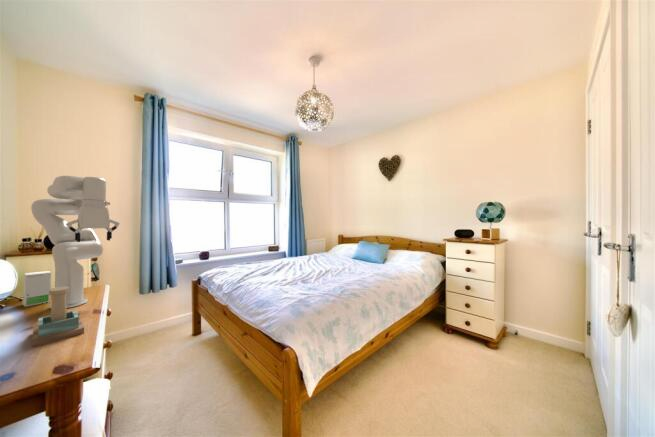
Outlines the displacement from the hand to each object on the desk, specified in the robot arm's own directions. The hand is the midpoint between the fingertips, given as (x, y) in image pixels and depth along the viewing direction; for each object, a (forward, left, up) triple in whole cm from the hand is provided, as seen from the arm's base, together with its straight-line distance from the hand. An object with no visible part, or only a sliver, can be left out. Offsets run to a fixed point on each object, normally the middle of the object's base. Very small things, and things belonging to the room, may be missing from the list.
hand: (94, 241), depth 105 cm
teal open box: (+16, -11, -33) cm, 39 cm away
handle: (+16, -11, -32) cm, 37 cm away
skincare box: (-37, -16, -34) cm, 52 cm away
